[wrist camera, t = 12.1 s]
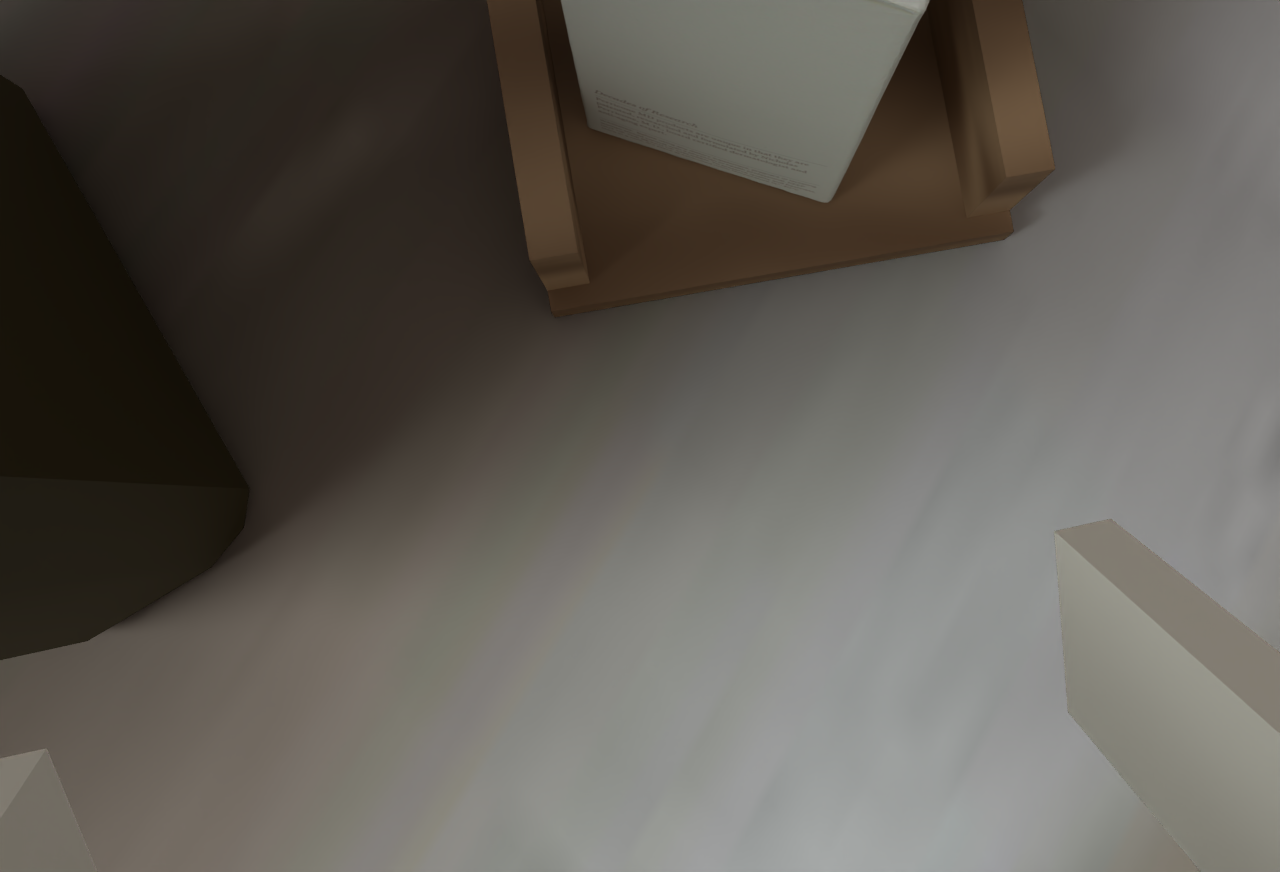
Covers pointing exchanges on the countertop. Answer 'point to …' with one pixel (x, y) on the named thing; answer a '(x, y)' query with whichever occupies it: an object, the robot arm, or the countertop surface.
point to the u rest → (761, 214)
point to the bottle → (90, 419)
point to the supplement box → (741, 80)
